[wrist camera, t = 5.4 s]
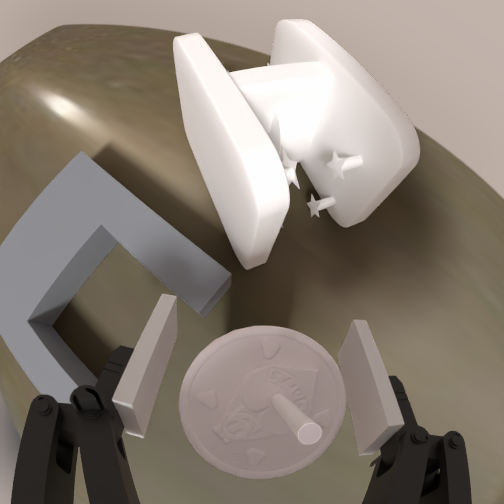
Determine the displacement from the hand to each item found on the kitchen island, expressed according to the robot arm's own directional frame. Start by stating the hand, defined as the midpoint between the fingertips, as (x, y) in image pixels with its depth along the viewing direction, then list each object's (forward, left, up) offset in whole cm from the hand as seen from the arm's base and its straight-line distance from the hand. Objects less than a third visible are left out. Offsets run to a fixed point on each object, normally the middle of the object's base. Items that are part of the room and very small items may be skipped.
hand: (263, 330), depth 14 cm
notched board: (+11, +6, -5) cm, 14 cm away
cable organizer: (+7, -11, -6) cm, 14 cm away
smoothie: (-2, +3, -5) cm, 6 cm away
